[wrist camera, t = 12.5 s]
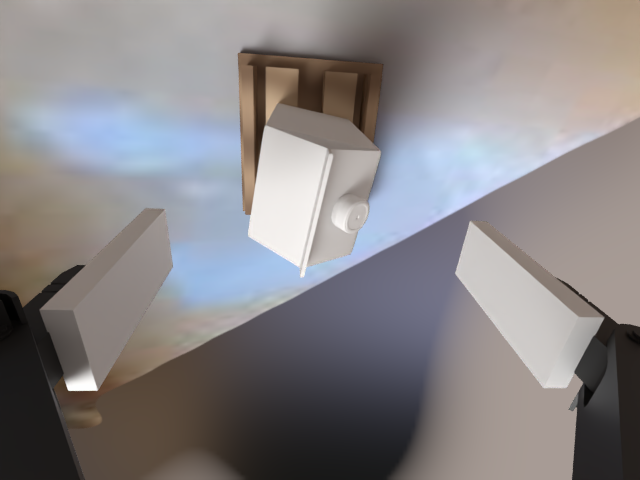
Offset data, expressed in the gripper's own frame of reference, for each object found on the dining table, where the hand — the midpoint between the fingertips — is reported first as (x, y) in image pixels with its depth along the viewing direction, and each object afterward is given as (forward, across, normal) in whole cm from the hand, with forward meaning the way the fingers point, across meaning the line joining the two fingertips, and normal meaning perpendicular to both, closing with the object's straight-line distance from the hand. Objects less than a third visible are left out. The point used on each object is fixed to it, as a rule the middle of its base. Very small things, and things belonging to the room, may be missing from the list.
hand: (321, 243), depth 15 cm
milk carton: (+22, 0, 0) cm, 22 cm away
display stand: (+25, 0, 0) cm, 25 cm away
